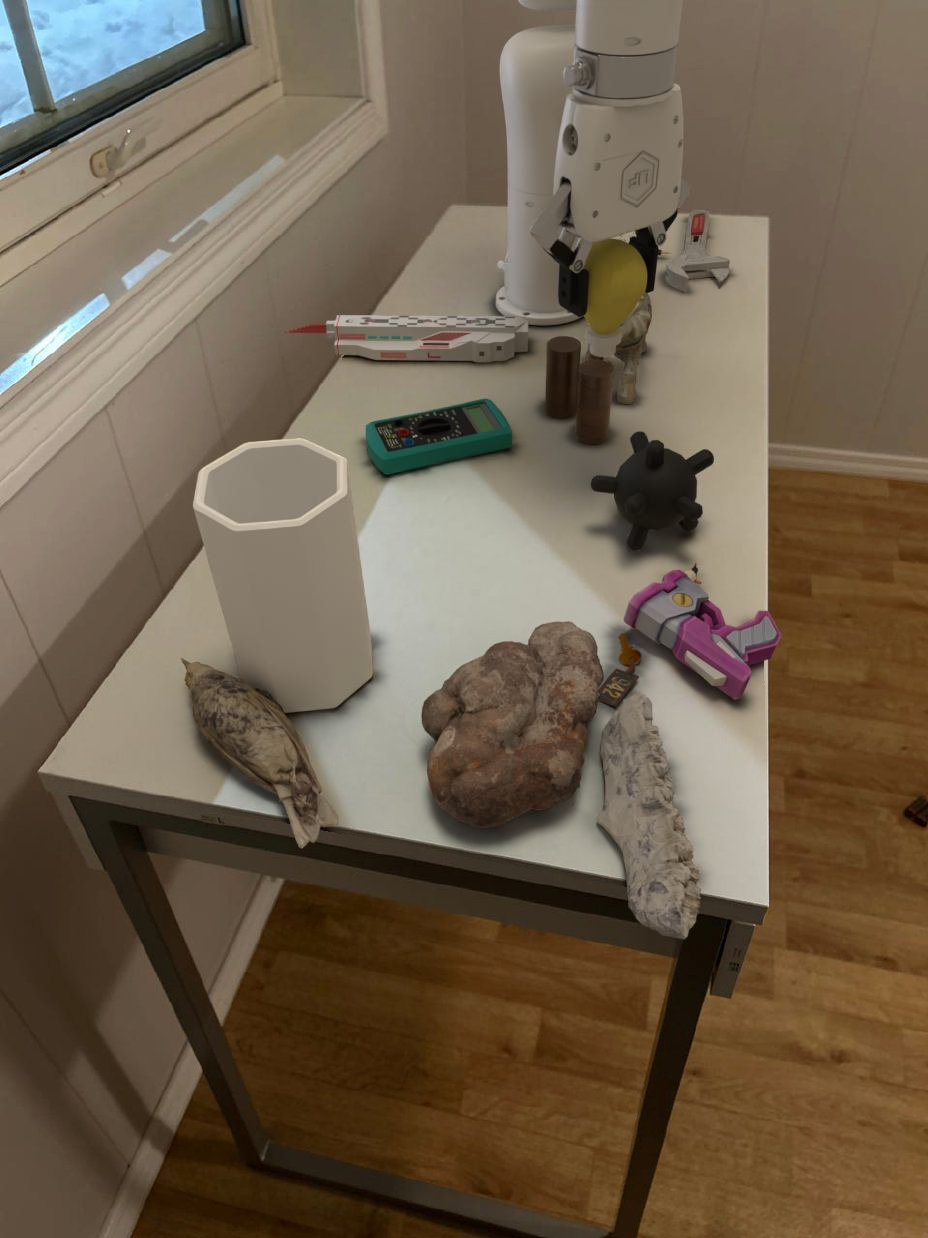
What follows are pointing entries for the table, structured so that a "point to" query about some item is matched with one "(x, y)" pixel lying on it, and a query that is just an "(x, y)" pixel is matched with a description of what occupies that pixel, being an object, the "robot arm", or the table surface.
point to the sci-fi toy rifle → (426, 337)
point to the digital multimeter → (437, 436)
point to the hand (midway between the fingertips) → (606, 296)
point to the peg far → (562, 376)
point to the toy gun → (702, 631)
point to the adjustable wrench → (696, 255)
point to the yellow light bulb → (612, 292)
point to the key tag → (620, 676)
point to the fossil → (647, 822)
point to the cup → (287, 570)
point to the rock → (514, 726)
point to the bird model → (259, 745)
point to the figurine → (630, 348)
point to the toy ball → (655, 488)
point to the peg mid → (594, 401)
